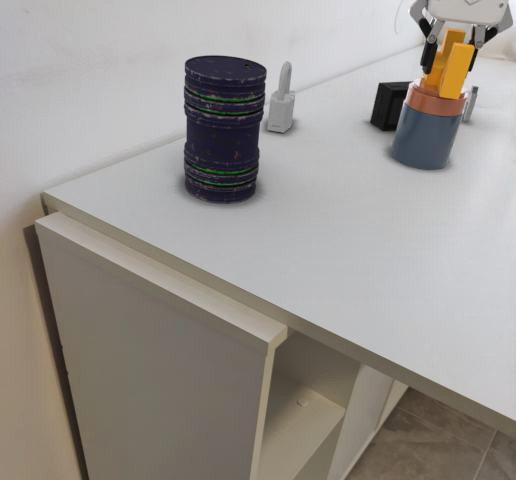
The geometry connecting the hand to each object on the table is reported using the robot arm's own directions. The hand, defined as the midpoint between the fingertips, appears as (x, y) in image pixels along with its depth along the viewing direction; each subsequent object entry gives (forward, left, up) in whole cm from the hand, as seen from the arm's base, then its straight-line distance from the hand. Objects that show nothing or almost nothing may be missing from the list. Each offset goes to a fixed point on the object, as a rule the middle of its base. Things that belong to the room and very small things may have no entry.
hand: (443, 72), depth 78 cm
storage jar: (+30, +19, -13) cm, 38 cm away
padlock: (+23, -7, -13) cm, 27 cm away
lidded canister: (0, 0, -13) cm, 13 cm away
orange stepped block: (0, 0, -2) cm, 2 cm away
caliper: (-13, -30, -13) cm, 35 cm away
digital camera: (+1, -14, -13) cm, 19 cm away
